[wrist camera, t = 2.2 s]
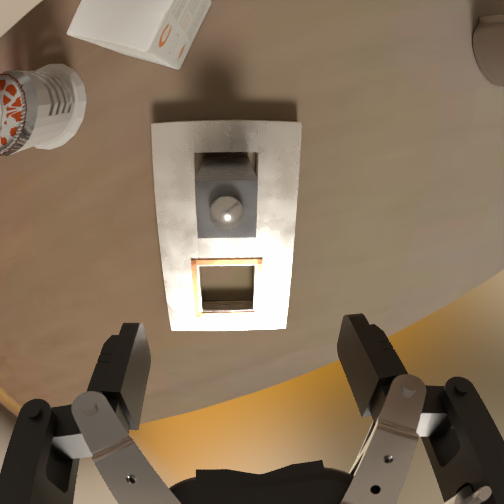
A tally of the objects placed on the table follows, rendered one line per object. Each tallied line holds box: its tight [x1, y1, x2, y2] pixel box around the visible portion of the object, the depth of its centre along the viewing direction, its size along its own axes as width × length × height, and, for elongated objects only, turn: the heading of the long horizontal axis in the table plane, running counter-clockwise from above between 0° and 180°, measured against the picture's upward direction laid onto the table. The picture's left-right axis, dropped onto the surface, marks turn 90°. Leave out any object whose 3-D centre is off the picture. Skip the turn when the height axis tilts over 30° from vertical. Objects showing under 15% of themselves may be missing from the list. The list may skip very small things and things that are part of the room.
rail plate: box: [151, 119, 302, 331], centre depth 34 cm, size 24×14×2 cm, turn 179°
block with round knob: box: [195, 157, 258, 238], centre depth 27 cm, size 4×4×11 cm
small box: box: [66, 0, 212, 70], centre depth 19 cm, size 8×6×13 cm
